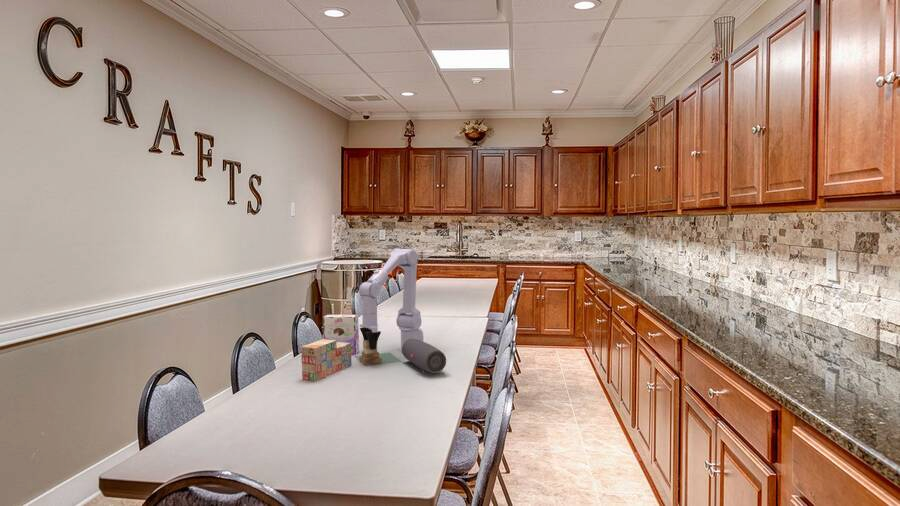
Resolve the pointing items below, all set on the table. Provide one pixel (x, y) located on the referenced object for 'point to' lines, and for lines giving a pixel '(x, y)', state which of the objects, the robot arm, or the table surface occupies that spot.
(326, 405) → the table surface
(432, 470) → the table surface
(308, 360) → the stack of blocks
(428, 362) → the bluetooth speaker
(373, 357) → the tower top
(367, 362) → the tower base
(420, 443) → the table surface
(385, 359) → the cutting mat
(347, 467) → the table surface
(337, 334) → the candy box
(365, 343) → the oak block
